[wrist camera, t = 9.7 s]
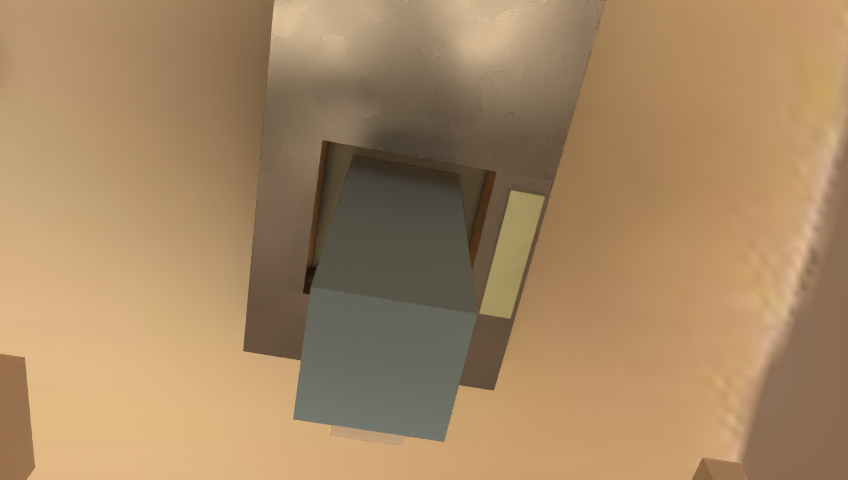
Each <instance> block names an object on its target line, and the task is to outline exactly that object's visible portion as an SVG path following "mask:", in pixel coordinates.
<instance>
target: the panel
mask: <svg viewBox="0 0 848 480" xmlns="http://www.w3.org/2000/svg"><path fill="white" fill-rule="evenodd" d="M605 1H606V0H274V8H273V20H272V31H271V42H270V54H269V65H268V76H267V88H266V99H265V110H264V122H263V133H262V145H261V156H260V167H259V179H258V190H257V201H256V213H255V224H254V235H253V247H252V258H251V269H250V281H249V292H248V303H247V315H246V326H245V337H244V349H243V351H246V352H252V353H258V354H265V355H271V356H277V357H284V358H290V359H297V360H301V357H302V349H303V342H304V334H305V327H306V319H307V312H308V304H309V296H310V289H311V285H312V281H313V278H314V275H315V272H316V269H311V268H312V260H313V252H314V245H315V237H316V230H317V222H318V214H319V207H320V199H321V192H322V184H323V176H324V169H325V161H326V154H327V146H328V141H330V142H335V143H341V144H346V145H352V146H357V147H363V148H368V149H374V150H379V151H385V152H390V153H396V154H401V155H407V156H412V157H418V158H423V159H429V160H434V161H440V162H445V163H451V164H456V165H462V166H467V167H473V168H478V169H484V170H488V172H487V176H486V180H485V184H484V188H483V192H482V197H481V201H480V205H479V209H478V213H477V217H476V222H475V226H474V230H473V234H472V238H471V242H470V247H469V255H470V262H471V270H472V278H473V286H474V294H475V301H476V309H477V317H476V321H475V324H474V328H473V332H472V336H471V340H470V344H469V348H468V352H467V355H466V359H465V363H464V367H463V371H462V375H461V379H460V383H459V385H463V386H469V387H475V388H482V389H488V390H494V388H495V385H496V381H497V378H498V374H499V371H500V367H501V364H502V360H503V357H504V353H505V350H506V346H507V343H508V339H509V336H510V332H511V329H512V325H513V322H514V318H515V315H516V311H517V308H518V304H519V301H520V297H521V294H522V290H523V287H524V283H525V280H526V276H527V273H528V269H529V266H530V262H531V259H532V255H533V252H534V248H535V245H536V241H537V238H538V234H539V231H540V227H541V224H542V220H543V217H544V214H545V210H546V207H547V203H548V200H549V196H550V193H551V189H552V186H553V182H554V179H555V175H556V172H557V168H558V165H559V161H560V158H561V154H562V151H563V147H564V144H565V140H566V137H567V133H568V130H569V126H570V123H571V119H572V116H573V112H574V109H575V105H576V102H577V98H578V95H579V91H580V88H581V84H582V81H583V77H584V74H585V70H586V67H587V63H588V60H589V56H590V53H591V49H592V46H593V42H594V39H595V35H596V32H597V29H598V25H599V22H600V18H601V15H602V11H603V8H604V4H605Z"/></svg>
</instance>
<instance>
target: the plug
mask: <svg viewBox="0 0 848 480" xmlns="http://www.w3.org/2000/svg"><path fill="white" fill-rule="evenodd" d="M476 317H477V309H476V301H475V294H474V286H473V278H472V270H471V262H470V255H469V247H468V239H467V231H466V223H465V216H464V208H463V200H462V192H461V184H460V177H459V174H454V173H449V172H443V171H438V170H432V169H427V168H421V167H416V166H410V165H405V164H399V163H393V162H388V161H382V160H377V159H371V158H366V157H360V156H355V155H353V158H352V161H351V164H350V168H349V171H348V174H347V177H346V180H345V183H344V186H343V189H342V192H341V195H340V198H339V201H338V205H337V208H336V211H335V214H334V217H333V220H332V223H331V226H330V229H329V232H328V235H327V238H326V241H325V245H324V248H323V251H322V254H321V257H320V260H319V263H318V266H317V269H316V272H315V275H314V278H313V281H312V285H311V289H310V296H309V304H308V312H307V319H306V327H305V334H304V342H303V349H302V357H301V364H300V372H299V379H298V387H297V395H296V402H295V410H294V417H293V419H295V420H301V421H308V422H315V423H321V424H328V425H332V427H331V433H330V435H331V436H338V437H344V438H351V439H358V440H365V441H371V442H378V443H385V444H391V445H398V446H402V445H403V441H404V437H405V436H408V437H415V438H421V439H428V440H435V441H441V442H444V441H445V437H446V433H447V429H448V425H449V421H450V417H451V414H452V410H453V406H454V402H455V398H456V394H457V390H458V386H459V383H460V379H461V375H462V371H463V367H464V363H465V359H466V355H467V352H468V348H469V344H470V340H471V336H472V332H473V328H474V324H475V321H476Z"/></svg>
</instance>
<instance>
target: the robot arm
mask: <svg viewBox="0 0 848 480" xmlns="http://www.w3.org/2000/svg"><path fill="white" fill-rule="evenodd" d="M34 468H35V462H34V452H33V441H32V430H31V420H30V409H29V398H28V387H27V377H26V366H25V357H18V356H11V355H5V354H0V480H27V478H28V477H29V475H30V474H31V472H32V471H33V470H34ZM692 480H748V478H747V476H746V475H745V473H744V471H743V469H742V467H741V466H740V464H739V463H735V462H728V461H722V460H715V459H708V458H702V460H701V462H700V464H699V466H698V468H697V470H696V472H695V474H694V476H693V478H692Z"/></svg>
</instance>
